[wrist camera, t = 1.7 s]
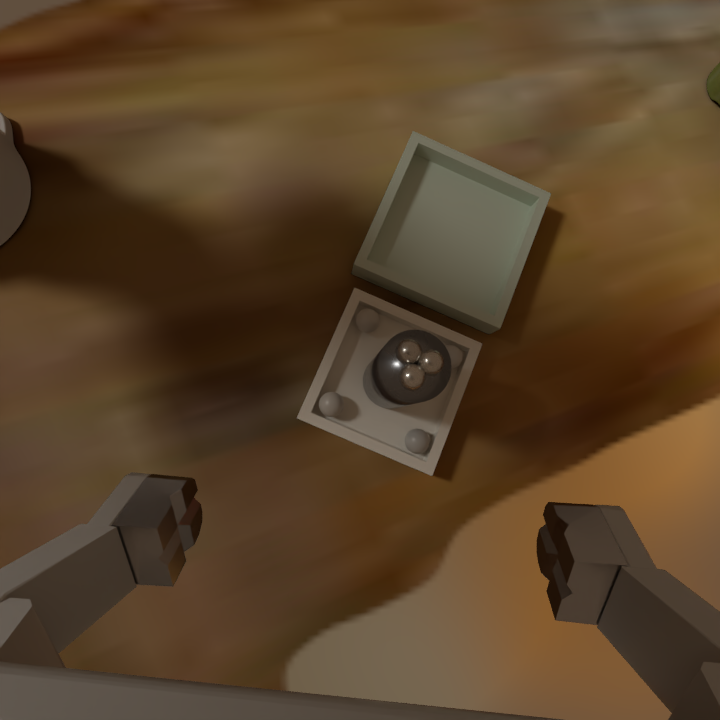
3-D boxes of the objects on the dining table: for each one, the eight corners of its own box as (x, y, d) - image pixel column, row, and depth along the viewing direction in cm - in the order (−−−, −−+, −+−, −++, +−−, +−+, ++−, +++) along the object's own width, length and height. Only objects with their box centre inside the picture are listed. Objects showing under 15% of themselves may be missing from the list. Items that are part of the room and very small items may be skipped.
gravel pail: (354, 395, 46) (370, 383, 33) (375, 345, 47) (399, 313, 33) (404, 417, 46) (441, 413, 33) (425, 367, 47) (467, 343, 34)
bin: (351, 273, 49) (353, 264, 46) (407, 148, 51) (413, 131, 48) (489, 334, 49) (500, 328, 46) (537, 206, 52) (551, 193, 49)
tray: (297, 418, 46) (296, 417, 43) (352, 294, 48) (355, 284, 45) (425, 473, 46) (434, 477, 43) (474, 347, 49) (485, 342, 45)
